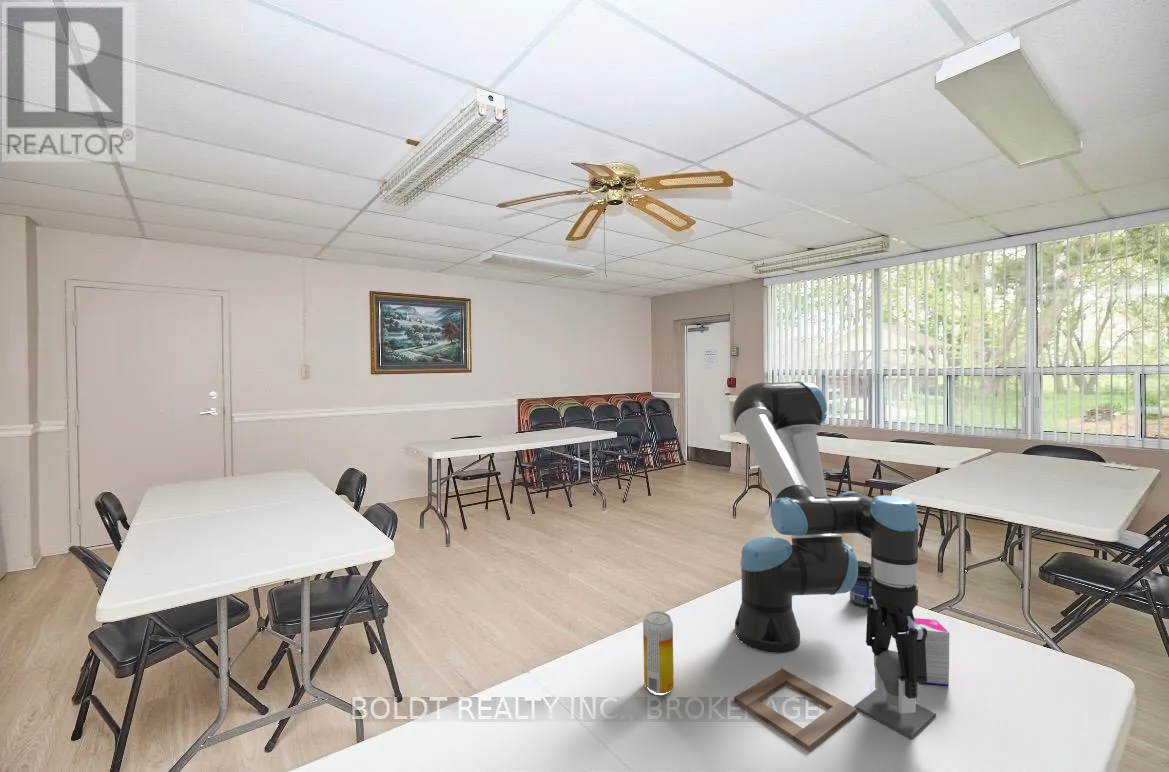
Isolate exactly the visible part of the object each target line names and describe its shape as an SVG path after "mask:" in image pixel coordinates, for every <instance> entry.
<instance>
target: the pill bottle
mask: <svg viewBox="0 0 1169 772" xmlns="http://www.w3.org/2000/svg"><path fill="white" fill-rule="evenodd" d="M857 563H858V576H857V581H856V583H855V585H854V587H853V588H852V589H851V590H850V591H849V600H850V602H851V603H853V604H854V605H855V606H858V607H862V608H867V604H866V597H872V594H871V579H872V577H873V576H872V574H871V562H867V561H865V560H857Z"/></svg>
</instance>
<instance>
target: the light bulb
mask: <svg viewBox="0 0 1169 772" xmlns="http://www.w3.org/2000/svg"><path fill="white" fill-rule="evenodd" d="M876 668H877V671H878V673H879V675H880V677H881V678H882V680H883V682H884V687H885V689H886V694H887V695H886V696H887V697H886V700H887V702H888V703H890V704H891V705H893V706H899V677H898V676H902V672H901V667H900V662H899V656H898V651H896V650H890V649H889V650H887V651H884V652H882V653H881V654H880V655H879V656H878V657H877V660H876Z"/></svg>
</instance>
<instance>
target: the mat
mask: <svg viewBox="0 0 1169 772" xmlns="http://www.w3.org/2000/svg"><path fill="white" fill-rule="evenodd" d="M886 695H887V694H886V690H877V689H876V688H875V689H874V690H873V691H872V692H870V693H869V694H867V695H866V696H865V697H863V698H862V699H861V700H860V701H859V702H857V703H856V704H855V705H854V707H855V708H857V712H860V713H862V714H863V715H865V716H867V717H869V718H871V719H872V720H875V721H876V722H878V723H880V724H882V725H884V726H885V727H887V728H889V729H891V730H892V731H895V732H897V733H899V734H900V735H902V736H904V737H906V738H908V739H909V740H913V739H914V738H915V737H916V736H918V735H919V733H920V732H921V731H922V730H924V728H925V727H927V726H928V725H929V724H930V723H931V722H932V721H933V720H934V719H936V716H937V715H936V714H937V713H936V712H934V711H932V710H929V709H927V708H925V707H923V706H922V705H919V704H917V703H916V712H915V713H901V712H900V711H899V706H893V705H891V704H890V703H888V702H887V700H886V697H887V696H886Z"/></svg>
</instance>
